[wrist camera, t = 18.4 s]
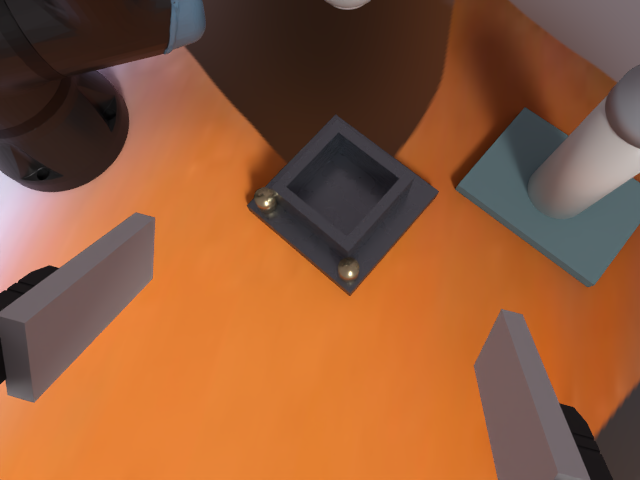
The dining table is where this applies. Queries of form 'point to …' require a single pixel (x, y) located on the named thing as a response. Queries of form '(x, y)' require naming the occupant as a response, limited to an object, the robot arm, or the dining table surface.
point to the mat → (533, 226)
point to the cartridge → (592, 155)
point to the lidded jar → (347, 3)
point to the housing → (342, 203)
